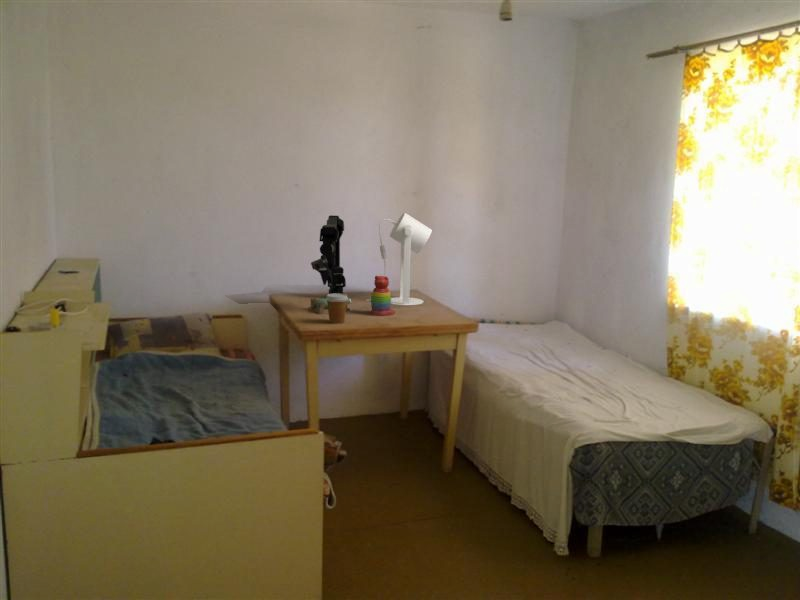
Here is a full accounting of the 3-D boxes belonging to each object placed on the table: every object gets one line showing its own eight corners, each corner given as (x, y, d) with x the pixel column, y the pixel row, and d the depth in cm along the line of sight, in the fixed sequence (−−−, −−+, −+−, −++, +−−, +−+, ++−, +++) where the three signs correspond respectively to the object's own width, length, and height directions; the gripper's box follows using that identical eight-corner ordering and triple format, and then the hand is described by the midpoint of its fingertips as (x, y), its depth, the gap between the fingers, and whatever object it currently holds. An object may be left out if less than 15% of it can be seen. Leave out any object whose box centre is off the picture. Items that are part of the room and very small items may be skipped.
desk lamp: (432, 305, 323) (435, 214, 314) (367, 305, 320) (368, 213, 311) (426, 297, 343) (429, 211, 335) (366, 297, 341) (367, 210, 332)
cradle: (338, 306, 318) (338, 296, 317) (349, 310, 308) (350, 300, 307) (308, 309, 309) (308, 298, 308) (319, 314, 299) (319, 303, 298)
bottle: (320, 309, 303) (320, 300, 303) (316, 308, 307) (315, 299, 306) (352, 306, 312) (351, 296, 312) (347, 305, 316) (347, 296, 315)
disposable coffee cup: (326, 319, 289) (326, 293, 286) (347, 319, 290) (348, 293, 287) (325, 324, 279) (325, 297, 277) (347, 324, 280) (348, 297, 278)
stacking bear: (396, 312, 305) (397, 275, 302) (386, 317, 296) (387, 278, 293) (375, 310, 310) (376, 273, 306) (365, 314, 301) (366, 276, 297)
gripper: (304, 251, 307) (304, 284, 310) (322, 256, 291) (322, 290, 294) (326, 250, 312) (326, 282, 315) (344, 255, 297) (344, 289, 300)
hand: (328, 286), depth 306 cm, fingers open, 9 cm apart
